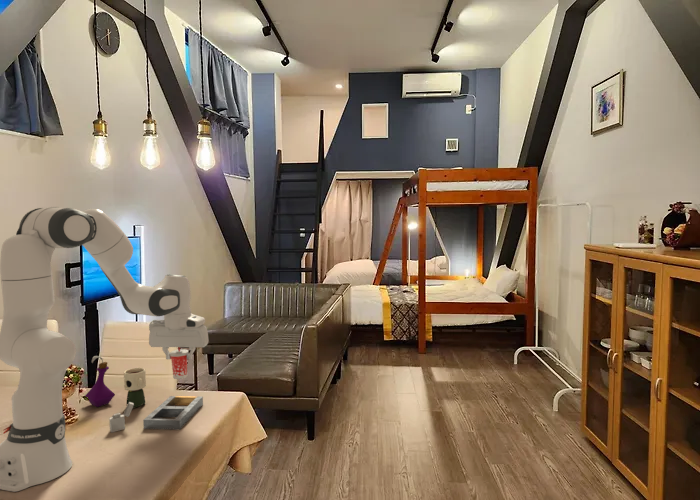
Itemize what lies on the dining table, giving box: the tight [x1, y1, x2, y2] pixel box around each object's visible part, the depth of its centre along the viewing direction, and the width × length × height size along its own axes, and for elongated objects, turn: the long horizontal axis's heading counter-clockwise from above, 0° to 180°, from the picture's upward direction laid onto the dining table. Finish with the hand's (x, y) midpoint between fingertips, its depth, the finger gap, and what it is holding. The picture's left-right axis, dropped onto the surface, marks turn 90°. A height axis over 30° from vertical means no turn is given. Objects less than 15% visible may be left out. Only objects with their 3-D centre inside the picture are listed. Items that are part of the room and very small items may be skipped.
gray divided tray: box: [142, 395, 204, 430], centre depth 160 cm, size 12×20×3 cm, turn 177°
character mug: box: [123, 367, 147, 409], centre depth 169 cm, size 11×7×13 cm, turn 45°
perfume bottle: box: [84, 355, 116, 408], centre depth 170 cm, size 8×8×18 cm
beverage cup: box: [169, 347, 189, 380], centre depth 164 cm, size 6×6×14 cm
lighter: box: [108, 402, 134, 434], centre depth 151 cm, size 7×2×8 cm, turn 128°
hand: (179, 359), depth 164 cm, fingers closed on beverage cup, 6 cm apart
